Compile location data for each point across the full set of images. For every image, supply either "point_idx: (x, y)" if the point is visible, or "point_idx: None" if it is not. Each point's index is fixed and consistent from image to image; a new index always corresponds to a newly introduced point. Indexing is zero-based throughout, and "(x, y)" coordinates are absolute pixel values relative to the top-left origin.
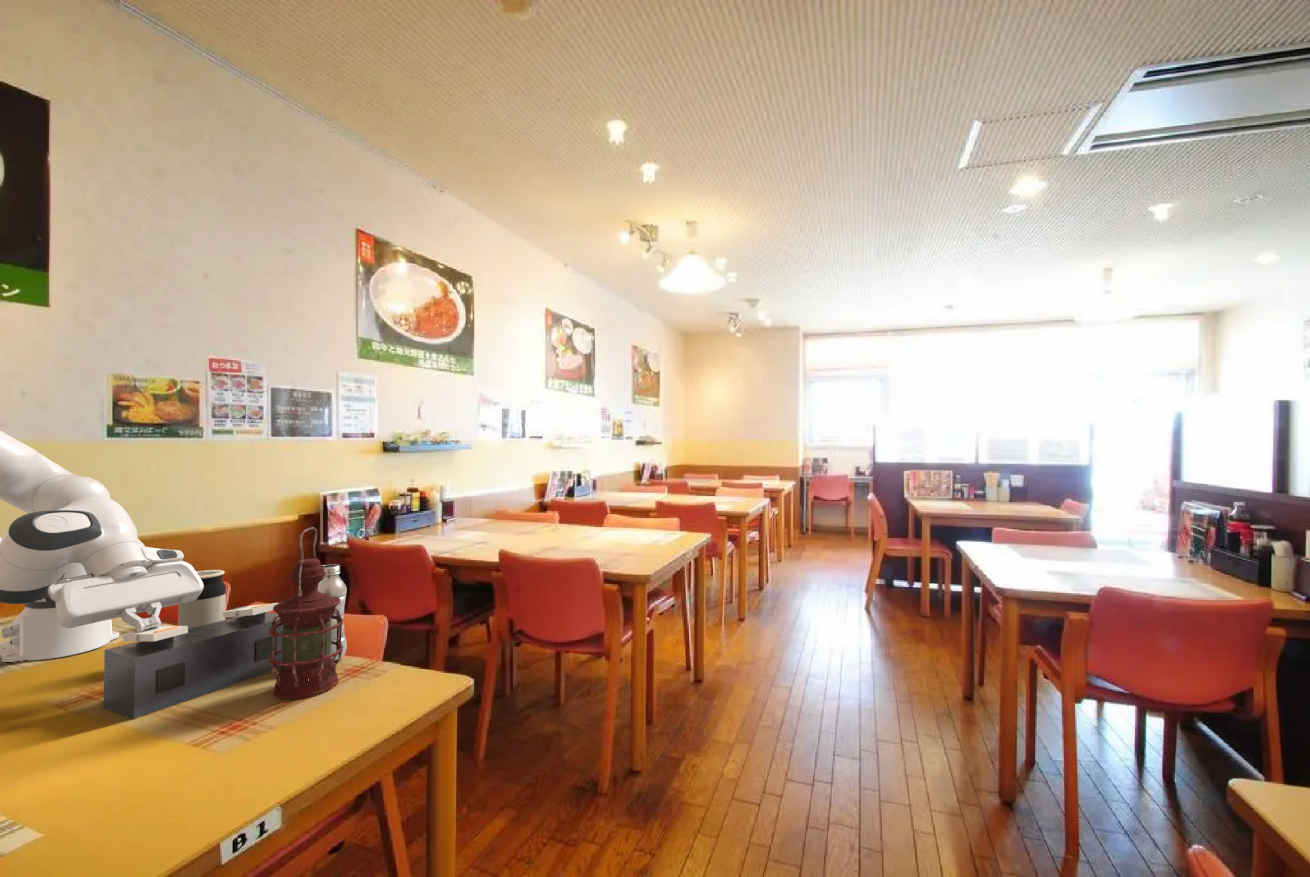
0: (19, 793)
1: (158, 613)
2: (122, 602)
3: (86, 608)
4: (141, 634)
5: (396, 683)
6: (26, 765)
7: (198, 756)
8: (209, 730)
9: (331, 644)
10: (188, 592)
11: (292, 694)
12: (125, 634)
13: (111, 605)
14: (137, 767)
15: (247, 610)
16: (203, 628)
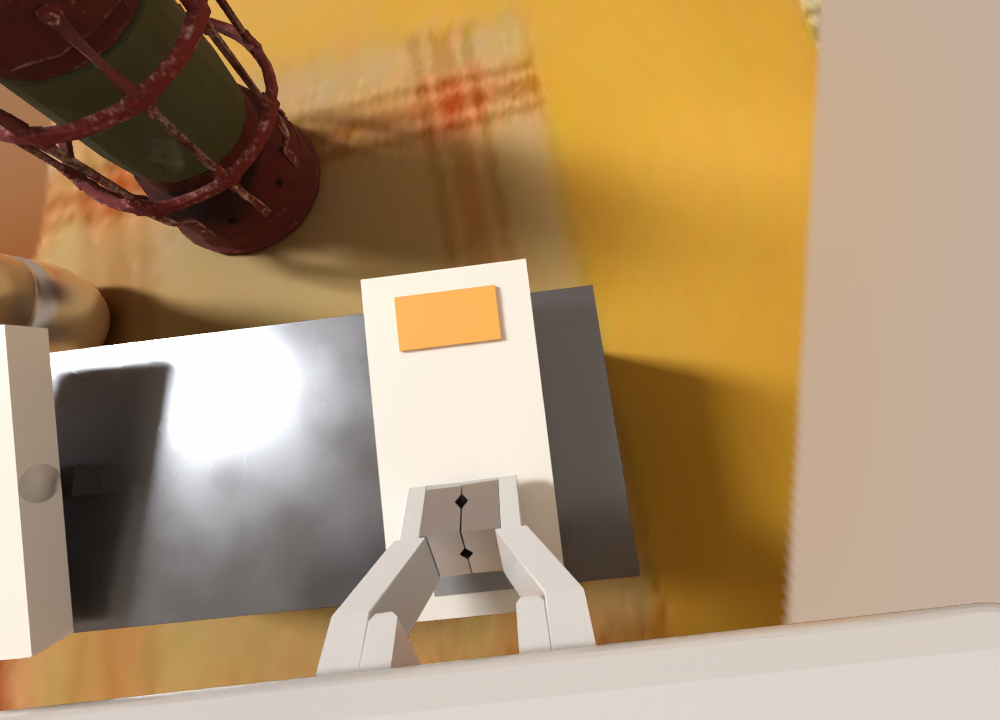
0: (802, 140)
1: (389, 551)
2: (632, 696)
3: (975, 678)
4: (541, 387)
5: None
6: (782, 269)
7: (551, 33)
8: (489, 131)
9: (33, 260)
10: (33, 714)
11: (300, 135)
12: None
13: (733, 670)
14: (635, 77)
15: (16, 378)
16: (224, 541)
